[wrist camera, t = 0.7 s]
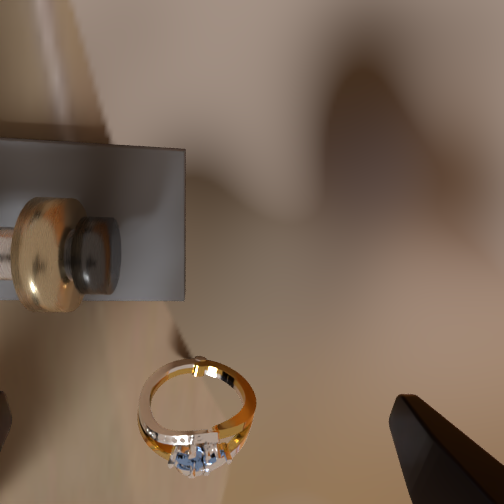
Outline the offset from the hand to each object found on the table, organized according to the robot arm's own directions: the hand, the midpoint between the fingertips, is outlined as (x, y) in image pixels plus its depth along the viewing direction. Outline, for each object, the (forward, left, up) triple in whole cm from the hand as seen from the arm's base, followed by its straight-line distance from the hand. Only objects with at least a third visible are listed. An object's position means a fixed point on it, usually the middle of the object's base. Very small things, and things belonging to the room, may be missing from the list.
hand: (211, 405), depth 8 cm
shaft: (0, +11, -12) cm, 16 cm away
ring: (-10, 0, -14) cm, 18 cm away
